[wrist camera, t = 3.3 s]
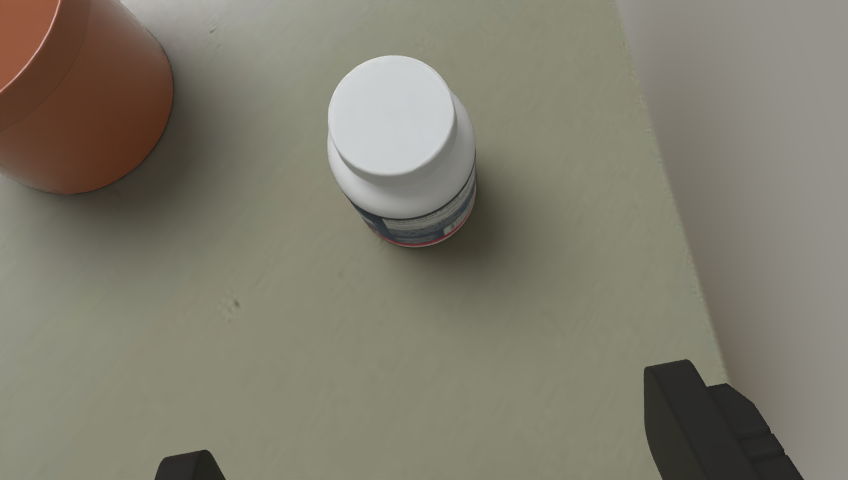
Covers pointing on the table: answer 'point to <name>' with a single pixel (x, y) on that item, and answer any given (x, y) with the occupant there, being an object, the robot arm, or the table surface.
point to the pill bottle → (403, 150)
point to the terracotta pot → (78, 93)
